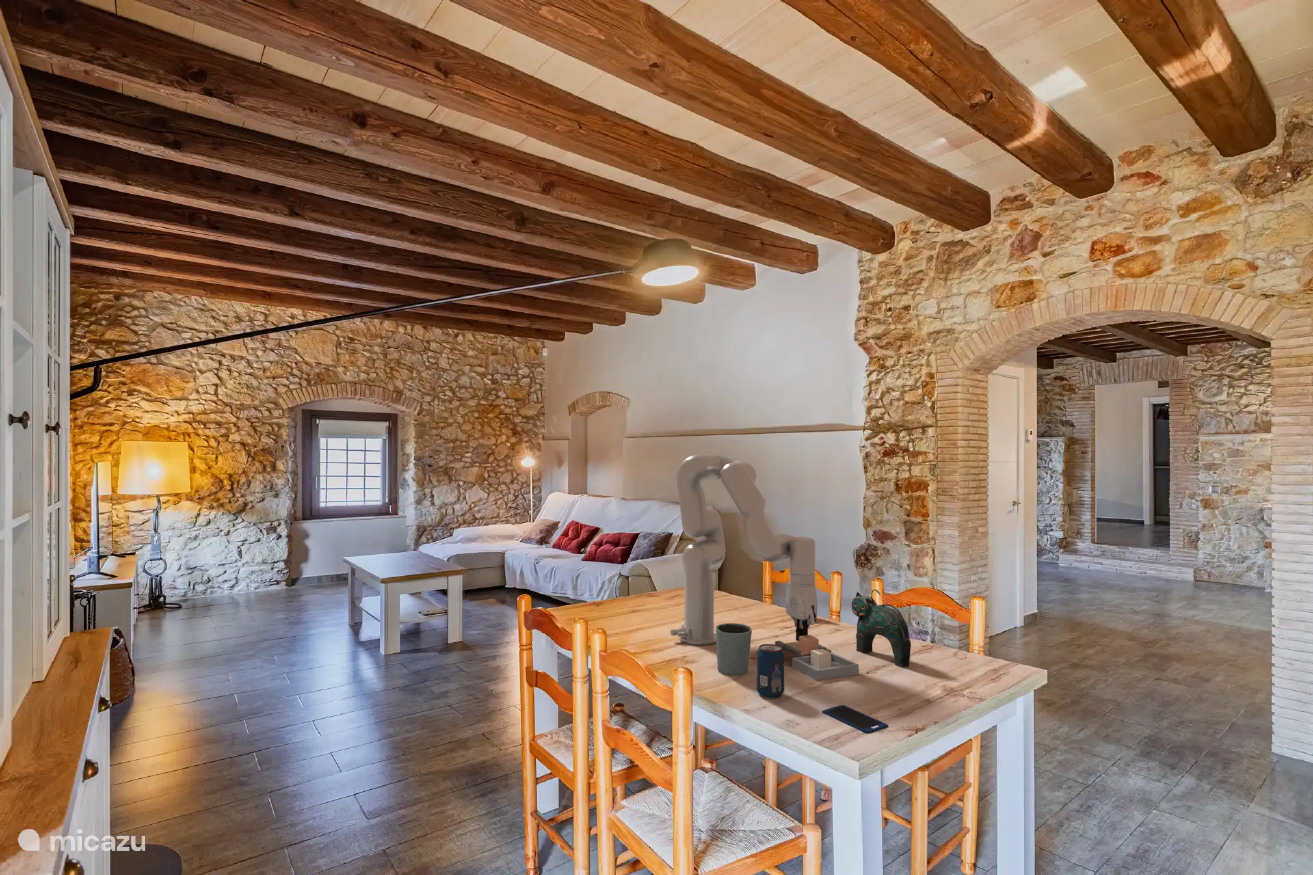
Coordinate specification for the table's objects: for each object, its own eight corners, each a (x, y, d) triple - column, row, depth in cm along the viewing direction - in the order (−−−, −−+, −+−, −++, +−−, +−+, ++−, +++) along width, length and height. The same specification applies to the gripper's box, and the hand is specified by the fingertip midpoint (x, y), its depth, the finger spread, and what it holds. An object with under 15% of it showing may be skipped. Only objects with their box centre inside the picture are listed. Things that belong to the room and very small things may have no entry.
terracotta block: (806, 654, 190) (807, 640, 190) (798, 649, 194) (799, 636, 194) (818, 652, 192) (818, 639, 192) (809, 647, 196) (810, 634, 195)
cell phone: (867, 735, 145) (867, 732, 145) (820, 713, 157) (820, 710, 157) (889, 728, 149) (889, 724, 149) (842, 707, 161) (842, 704, 161)
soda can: (765, 687, 172) (765, 641, 173) (789, 693, 168) (789, 646, 168) (751, 695, 167) (751, 647, 167) (775, 702, 163) (775, 653, 163)
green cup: (730, 662, 192) (731, 620, 192) (759, 670, 185) (759, 627, 185) (707, 670, 185) (708, 627, 185) (736, 679, 178) (736, 635, 178)
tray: (816, 680, 178) (816, 670, 178) (792, 667, 188) (792, 657, 188) (858, 673, 183) (858, 664, 183) (832, 661, 194) (832, 652, 194)
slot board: (791, 666, 189) (791, 652, 189) (770, 655, 199) (770, 641, 199) (831, 660, 194) (831, 646, 194) (809, 649, 204) (809, 636, 204)
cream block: (810, 664, 188) (819, 668, 185) (810, 650, 188) (819, 654, 185) (822, 662, 190) (831, 667, 186) (822, 648, 190) (831, 652, 186)
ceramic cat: (849, 649, 205) (849, 585, 205) (865, 646, 208) (865, 583, 208) (900, 669, 187) (900, 598, 187) (916, 665, 190) (916, 596, 190)
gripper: (777, 575, 202) (777, 635, 202) (806, 584, 188) (806, 649, 188) (797, 573, 205) (797, 632, 205) (828, 582, 191) (828, 646, 191)
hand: (801, 640), depth 196 cm, fingers closed
